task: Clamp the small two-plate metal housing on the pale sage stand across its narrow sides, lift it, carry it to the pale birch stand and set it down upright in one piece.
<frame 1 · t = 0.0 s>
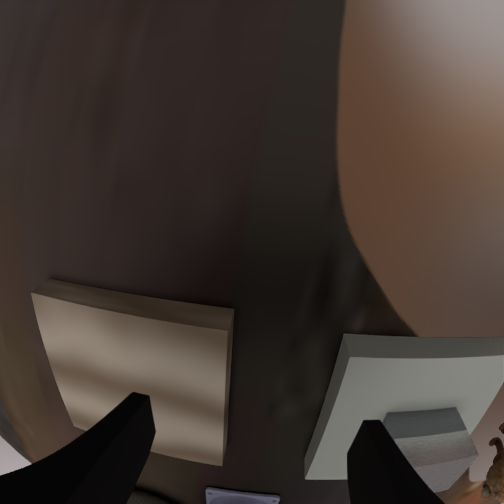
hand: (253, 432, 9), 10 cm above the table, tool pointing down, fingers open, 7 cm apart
housing: (412, 430, 19), point 2 cm above the table, touching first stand
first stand: (404, 408, 21), on the table
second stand: (139, 373, 22), on the table
planter: (150, 500, 31), on the table
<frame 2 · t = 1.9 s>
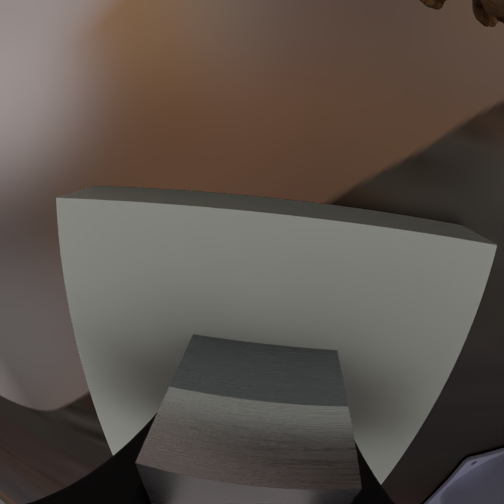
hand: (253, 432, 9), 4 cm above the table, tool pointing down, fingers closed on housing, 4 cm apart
housing: (256, 408, 11), point 2 cm above the table, touching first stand, gripper
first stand: (261, 367, 13), on the table
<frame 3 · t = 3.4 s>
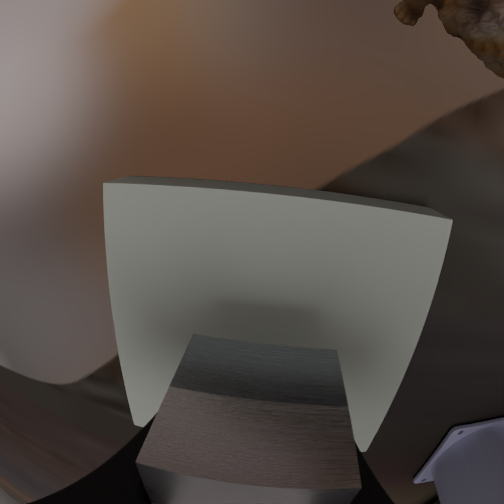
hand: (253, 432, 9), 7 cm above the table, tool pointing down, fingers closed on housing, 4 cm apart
housing: (256, 408, 11), point 6 cm above the table, touching gripper
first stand: (265, 326, 16), on the table
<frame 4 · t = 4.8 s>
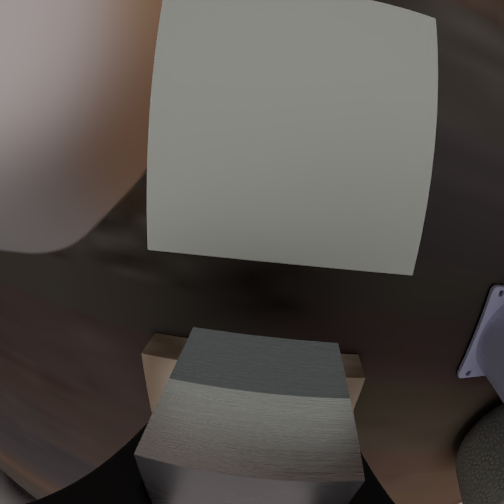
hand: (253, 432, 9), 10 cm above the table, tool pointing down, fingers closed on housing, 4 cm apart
housing: (256, 403, 10), point 9 cm above the table, touching gripper
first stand: (293, 122, 16), on the table
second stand: (248, 415, 23), on the table
planter: (492, 423, 22), on the table
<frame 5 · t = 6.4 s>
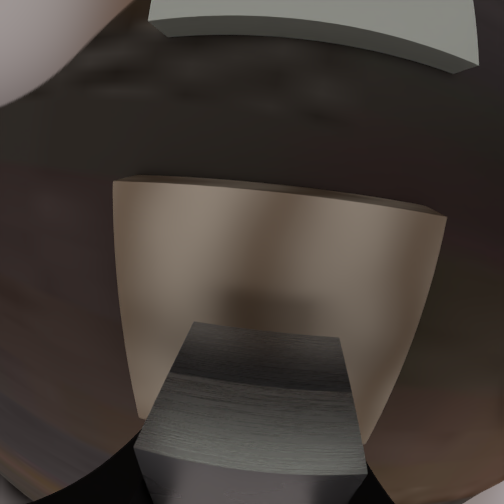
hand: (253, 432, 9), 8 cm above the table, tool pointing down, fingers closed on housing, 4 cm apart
housing: (257, 399, 10), point 6 cm above the table, touching gripper
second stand: (267, 320, 16), on the table
when the fingers open (5 cm above the table, at t = 7.8 s): housing drops 1 cm, resting on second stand.
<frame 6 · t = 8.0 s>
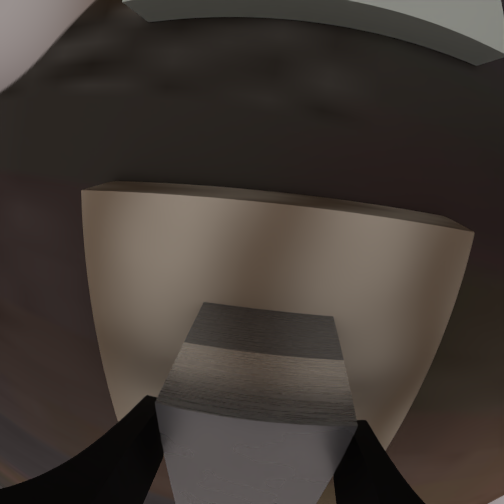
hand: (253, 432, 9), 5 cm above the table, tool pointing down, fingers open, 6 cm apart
housing: (260, 375, 12), point 2 cm above the table, touching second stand
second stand: (263, 346, 14), on the table
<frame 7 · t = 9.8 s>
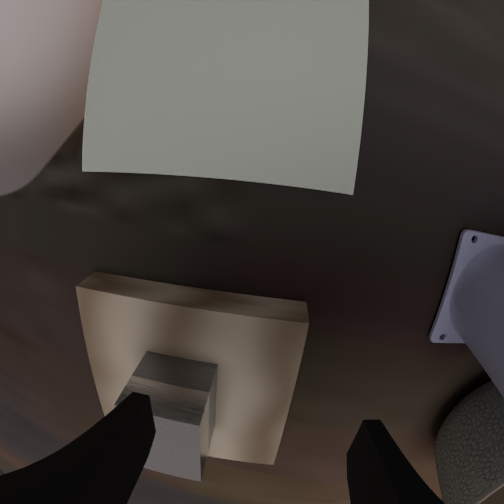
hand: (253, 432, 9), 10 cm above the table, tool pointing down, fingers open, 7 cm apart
housing: (182, 392, 19), point 2 cm above the table, touching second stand
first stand: (227, 50, 15), on the table
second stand: (192, 372, 22), on the table
planter: (477, 407, 21), on the table
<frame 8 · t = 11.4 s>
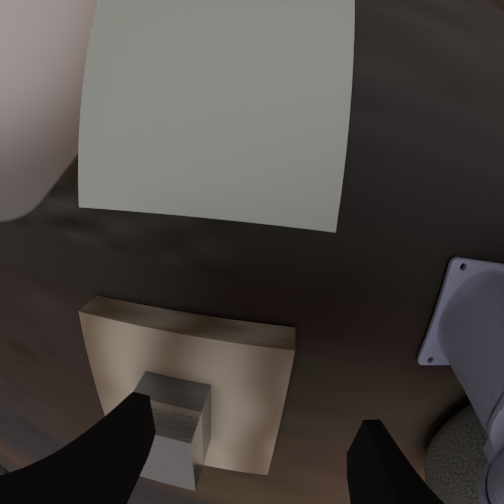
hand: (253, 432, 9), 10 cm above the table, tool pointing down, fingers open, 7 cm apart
housing: (179, 408, 20), point 2 cm above the table, touching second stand
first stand: (214, 84, 16), on the table
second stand: (189, 389, 23), on the table
planter: (469, 422, 22), on the table
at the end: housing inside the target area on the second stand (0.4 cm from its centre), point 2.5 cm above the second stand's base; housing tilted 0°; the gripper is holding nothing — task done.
